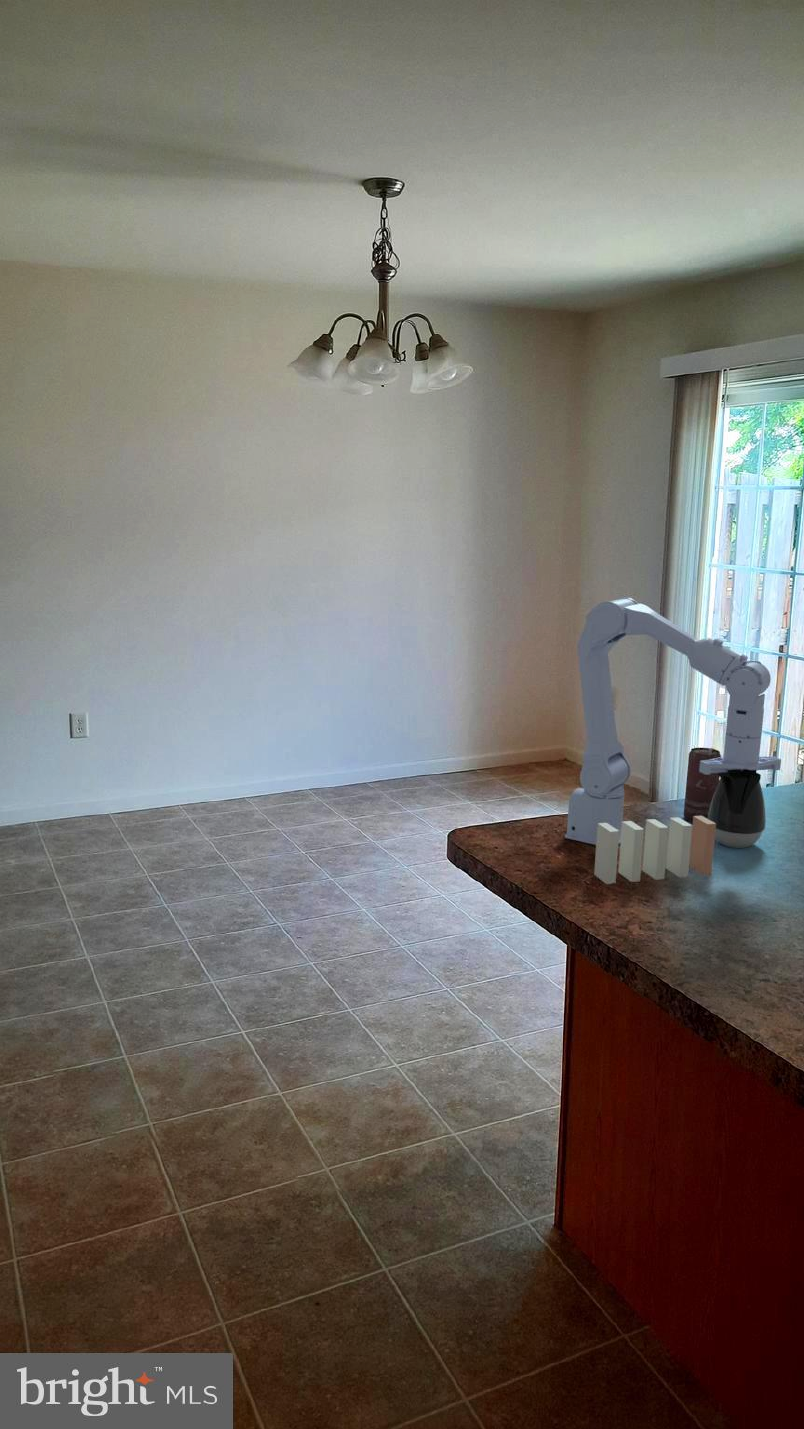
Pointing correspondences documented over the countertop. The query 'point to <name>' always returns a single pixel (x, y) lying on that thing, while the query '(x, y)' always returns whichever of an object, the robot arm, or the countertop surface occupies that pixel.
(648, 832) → the domino
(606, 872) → the domino
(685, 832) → the domino
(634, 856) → the domino
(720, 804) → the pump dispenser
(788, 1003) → the countertop surface
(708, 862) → the end domino
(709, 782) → the can
